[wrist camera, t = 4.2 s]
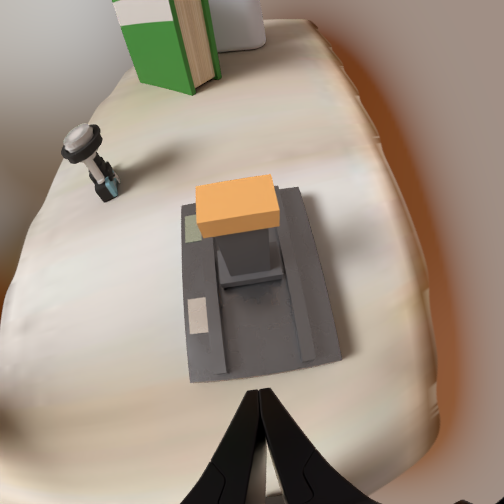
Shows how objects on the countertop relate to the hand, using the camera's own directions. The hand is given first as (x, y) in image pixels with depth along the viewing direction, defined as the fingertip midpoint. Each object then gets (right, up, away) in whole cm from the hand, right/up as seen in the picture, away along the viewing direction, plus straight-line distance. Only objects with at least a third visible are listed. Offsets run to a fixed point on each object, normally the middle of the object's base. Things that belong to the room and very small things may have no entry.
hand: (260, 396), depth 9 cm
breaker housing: (0, +2, +16) cm, 17 cm away
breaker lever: (0, +4, +15) cm, 15 cm away
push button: (-19, +14, +24) cm, 34 cm away
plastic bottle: (-4, +56, +44) cm, 71 cm away
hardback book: (-15, +39, +36) cm, 56 cm away
